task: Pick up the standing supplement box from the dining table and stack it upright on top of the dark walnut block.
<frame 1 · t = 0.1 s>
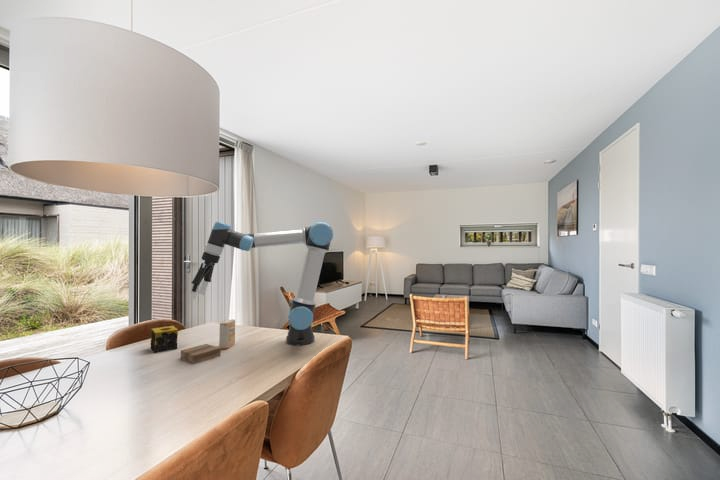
hand: (196, 296, 146), 28 cm above the table, tool tilted 20°, fingers open, 13 cm apart
black and yellow box: (163, 349, 155), on the table
supplement box: (227, 347, 159), on the table
walnut block: (200, 358, 143), on the table
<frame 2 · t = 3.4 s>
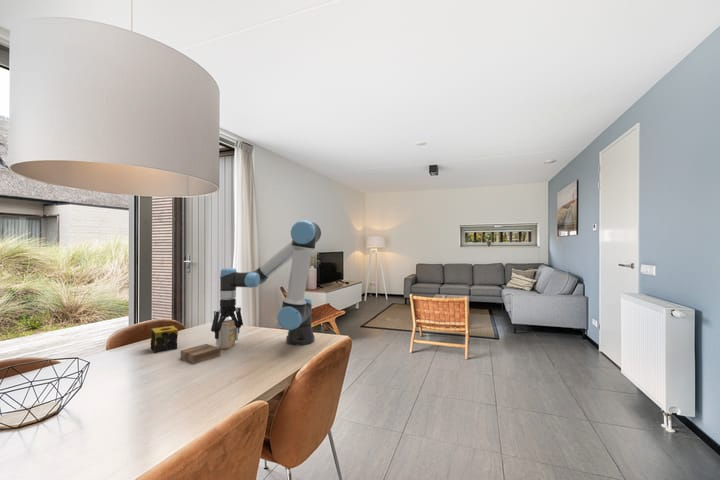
hand: (227, 342, 159), 2 cm above the table, tool pointing down, fingers closed on supplement box, 9 cm apart
supplement box: (227, 346, 159), on the table, touching gripper
everything else where it was.
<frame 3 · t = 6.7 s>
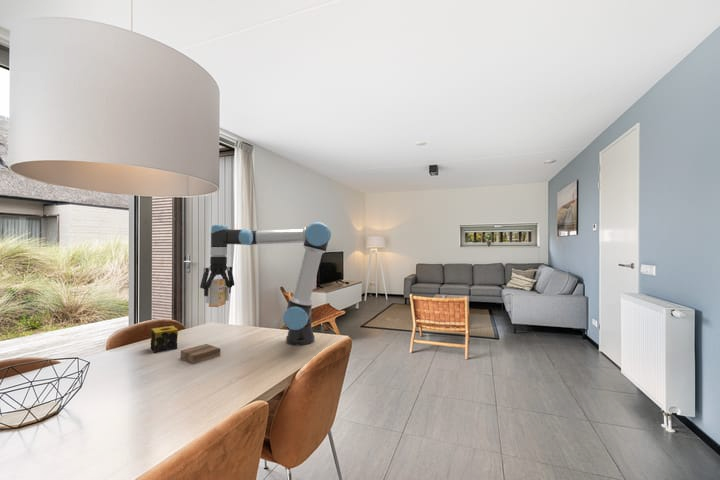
hand: (217, 301, 153), 24 cm above the table, tool pointing down, fingers closed on supplement box, 9 cm apart
supplement box: (217, 306, 153), point 22 cm above the table, touching gripper
everything else where it was.
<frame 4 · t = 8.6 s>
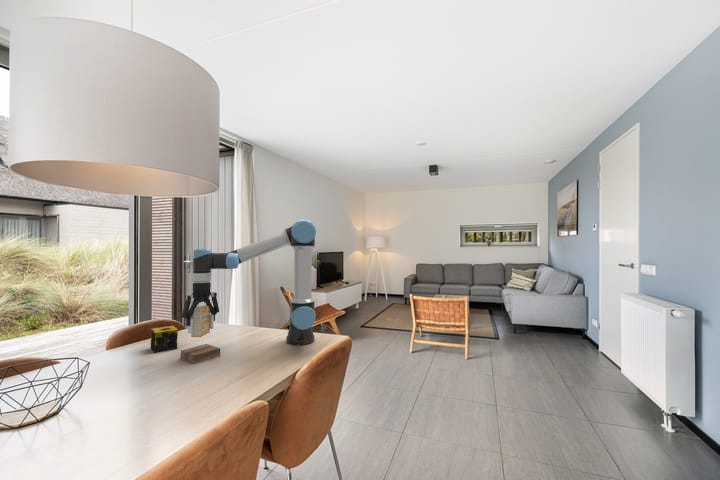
hand: (200, 330, 143), 12 cm above the table, tool pointing down, fingers closed on supplement box, 9 cm apart
supplement box: (200, 335, 143), point 10 cm above the table, touching gripper
everything else where it was.
when the fingers open (7 cm above the table, at t = 10.2 s): supplement box drops 2 cm, resting on walnut block.
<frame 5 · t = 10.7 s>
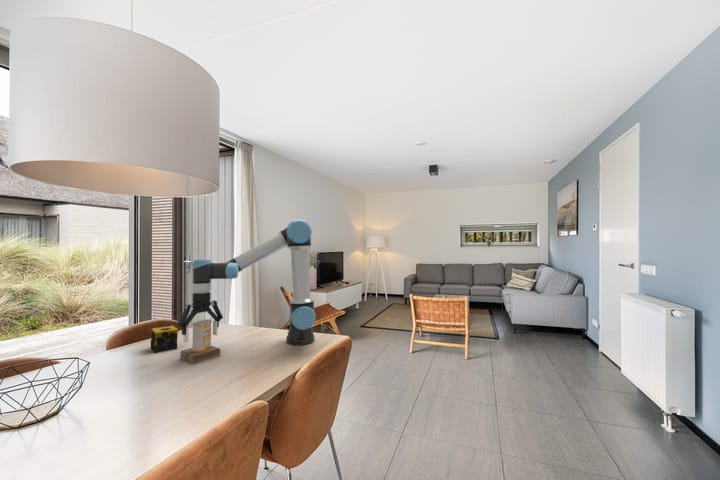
hand: (200, 338, 143), 9 cm above the table, tool pointing down, fingers open, 13 cm apart
supplement box: (201, 349, 144), point 3 cm above the table, touching walnut block
walnut block: (200, 358, 143), on the table, touching supplement box
everything else where it was.
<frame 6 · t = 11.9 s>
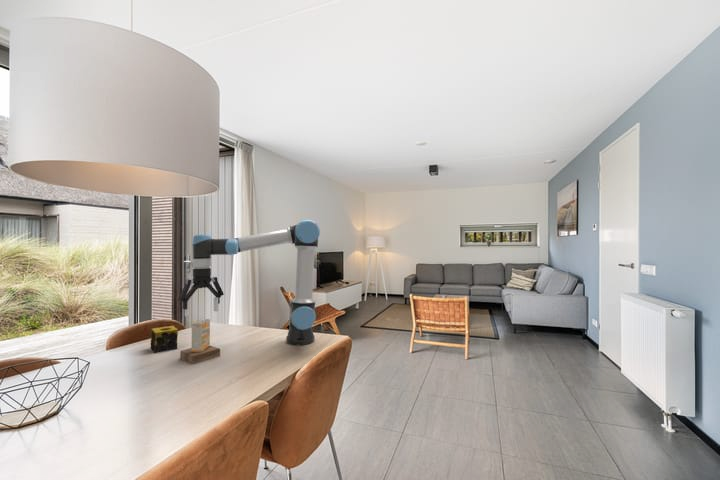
hand: (202, 313, 144), 20 cm above the table, tool pointing down, fingers open, 13 cm apart
supplement box: (201, 349, 144), point 3 cm above the table
walnut block: (200, 358, 143), on the table
everything else where it was.
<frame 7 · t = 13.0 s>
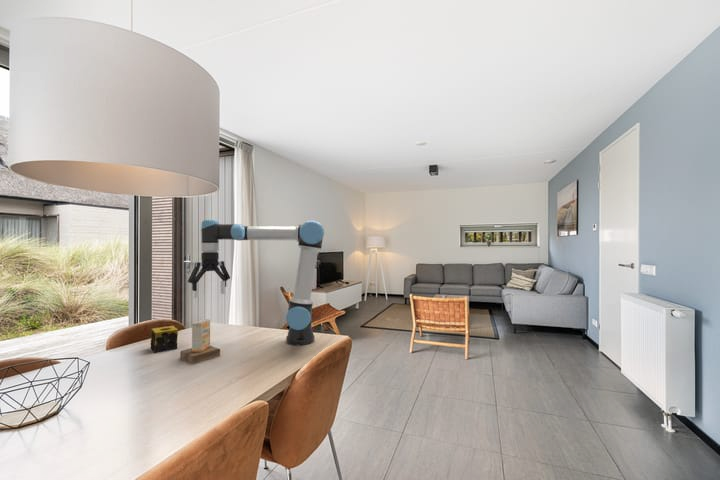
hand: (210, 295, 150), 27 cm above the table, tool pointing down, fingers open, 13 cm apart
supplement box: (201, 349, 144), point 3 cm above the table, touching walnut block
walnut block: (200, 358, 143), on the table, touching supplement box
everything else where it was.
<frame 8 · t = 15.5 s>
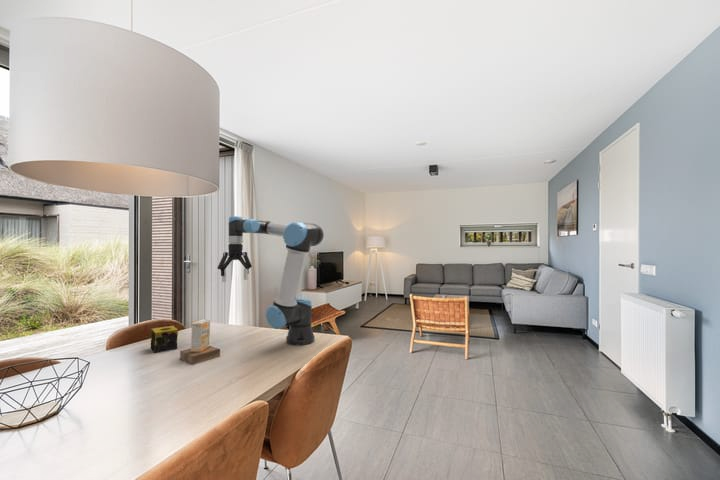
hand: (235, 281, 176), 32 cm above the table, tool pointing down, fingers open, 13 cm apart
nothing on the table moved.
at the end: supplement box inside the target area on the walnut block (0.6 cm from its centre), point 3.8 cm above the walnut block's base; supplement box tilted 0°; the gripper is holding nothing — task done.
